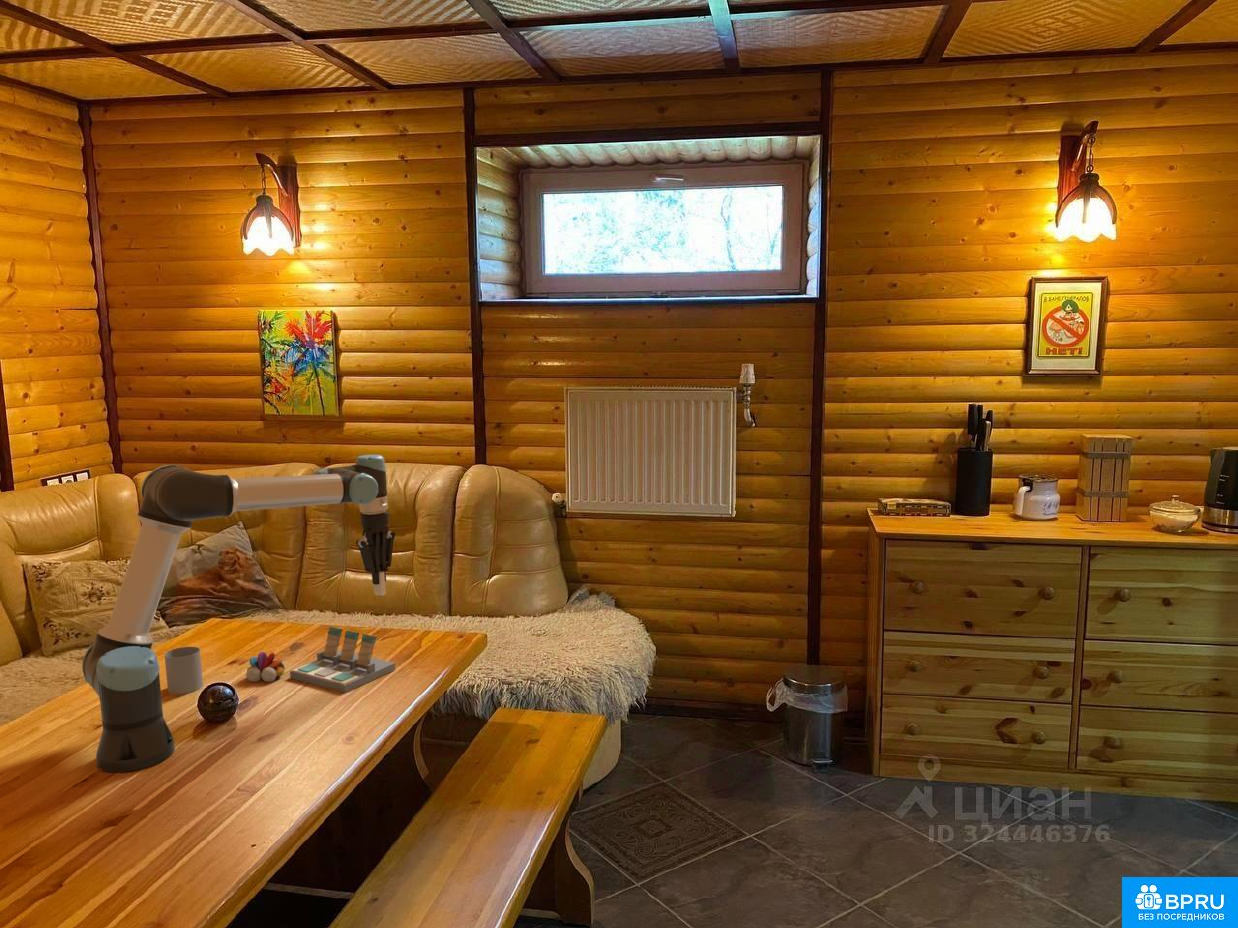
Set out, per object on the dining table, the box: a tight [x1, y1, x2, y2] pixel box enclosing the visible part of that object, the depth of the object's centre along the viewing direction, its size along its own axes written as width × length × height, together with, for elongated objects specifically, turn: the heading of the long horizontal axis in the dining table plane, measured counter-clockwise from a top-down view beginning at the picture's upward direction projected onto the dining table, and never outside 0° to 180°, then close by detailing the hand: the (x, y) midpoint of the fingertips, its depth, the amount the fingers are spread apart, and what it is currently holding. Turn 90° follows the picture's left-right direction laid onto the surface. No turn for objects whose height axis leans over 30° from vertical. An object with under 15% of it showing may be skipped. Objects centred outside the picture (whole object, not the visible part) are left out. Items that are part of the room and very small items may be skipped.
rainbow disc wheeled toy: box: [246, 651, 286, 683], centre depth 237 cm, size 8×10×7 cm
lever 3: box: [355, 633, 377, 669], centre depth 237 cm, size 1×4×9 cm, turn 60°
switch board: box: [289, 649, 396, 694], centre depth 239 cm, size 18×21×4 cm
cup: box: [164, 646, 204, 696], centre depth 230 cm, size 8×8×10 cm
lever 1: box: [322, 626, 344, 661], centre depth 243 cm, size 1×4×9 cm, turn 60°
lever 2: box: [338, 630, 360, 665], centre depth 240 cm, size 1×4×9 cm, turn 60°
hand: (380, 594), depth 242 cm, fingers closed
